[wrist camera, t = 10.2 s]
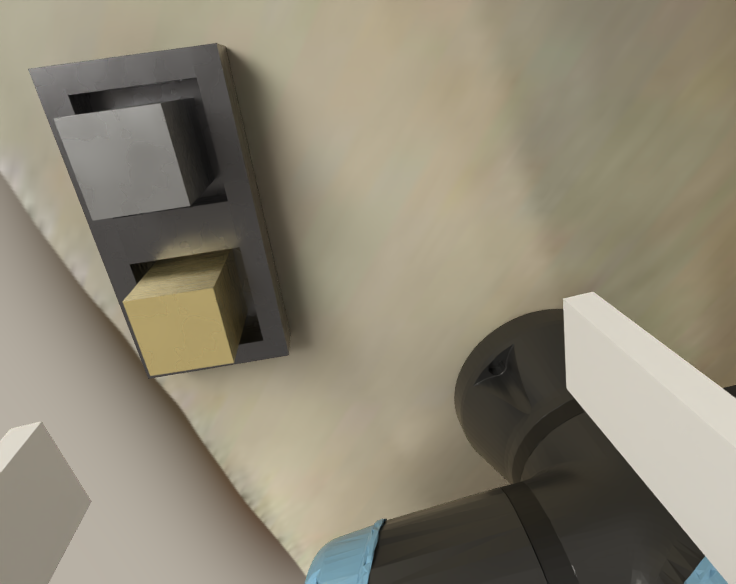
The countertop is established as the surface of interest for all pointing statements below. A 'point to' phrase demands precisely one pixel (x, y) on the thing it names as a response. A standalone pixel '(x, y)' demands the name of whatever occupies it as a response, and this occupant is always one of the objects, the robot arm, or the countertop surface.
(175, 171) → the grey block
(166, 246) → the dark grey tray
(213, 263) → the yellow block
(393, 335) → the countertop surface
